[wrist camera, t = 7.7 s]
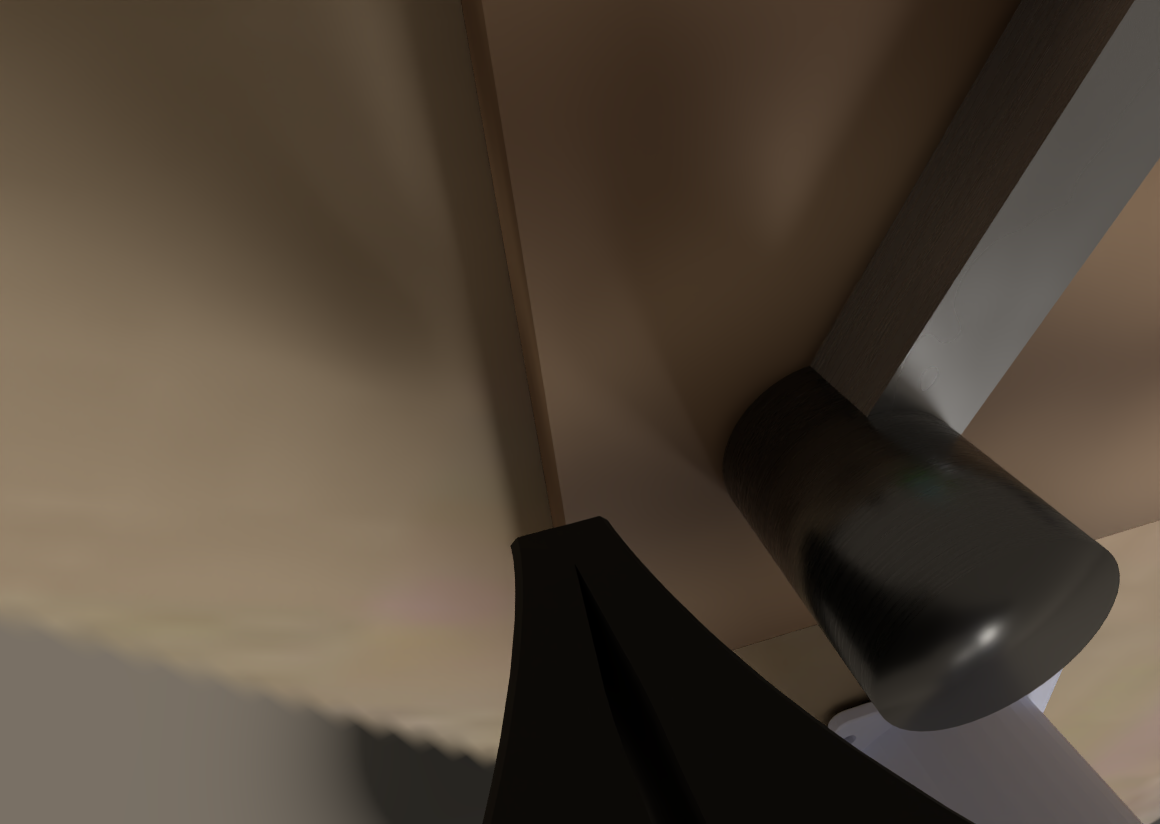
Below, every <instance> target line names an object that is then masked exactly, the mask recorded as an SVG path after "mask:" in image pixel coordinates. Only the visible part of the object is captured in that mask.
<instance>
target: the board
mask: <svg viewBox="0 0 1160 824" xmlns="http://www.w3.org/2000/svg"><path fill="white" fill-rule="evenodd" d="M1021 1H1022V0H461V4H462V9H463V15H464V21H465V27H466V32H467V38H468V44H469V49H470V55H471V61H472V66H473V72H474V78H475V84H476V89H477V95H478V101H479V106H480V112H481V118H482V123H483V129H484V135H485V141H486V146H487V152H488V158H489V163H490V169H491V175H492V181H493V186H494V192H495V198H496V203H497V209H498V215H499V220H500V226H501V232H502V238H503V243H504V249H505V255H506V260H507V266H508V272H509V277H510V283H511V289H512V295H513V300H514V306H515V312H516V317H517V323H518V329H519V334H520V340H521V346H522V352H523V357H524V363H525V369H526V374H527V380H528V386H529V392H530V397H531V403H532V409H533V414H534V420H535V426H536V431H537V437H538V443H539V449H540V454H541V460H542V466H543V471H544V477H545V483H546V488H547V494H548V500H549V506H550V511H551V517H552V523H553V528H555V527H559V526H563V525H567V524H571V523H574V522H578V521H582V520H586V519H589V518H593V517H597V516H601V517H603V518H605V519H607V520H608V521H609V522H610V524H611V525H612V527H613V528H614V529H615V531H616V532H617V533H618V534H619V536H620V537H621V538H622V539H623V541H624V542H625V543H626V544H627V545H628V547H629V548H630V549H631V550H632V551H633V553H634V554H635V555H636V556H637V557H638V558H639V559H640V561H641V562H642V563H643V564H644V565H645V566H646V567H647V568H648V569H649V570H650V572H651V573H652V574H653V575H654V576H655V577H656V578H657V579H658V580H659V581H660V582H661V583H662V584H663V585H664V587H665V588H666V589H667V590H668V591H669V592H670V593H671V594H672V595H673V596H674V597H675V598H676V599H677V600H678V601H679V602H680V603H681V604H682V605H683V606H684V607H685V608H687V609H688V610H689V611H690V612H691V613H692V614H693V615H694V616H695V617H696V618H697V619H698V620H699V621H700V622H701V623H702V624H703V625H704V626H705V627H706V628H707V629H708V630H709V631H710V632H711V633H713V634H714V635H715V636H716V637H717V638H718V639H719V640H720V641H721V642H722V643H724V644H725V645H726V646H727V647H728V648H729V649H730V650H734V649H738V648H741V647H744V646H748V645H751V644H754V643H758V642H761V641H764V640H767V639H771V638H774V637H777V636H781V635H784V634H787V633H790V632H794V631H797V630H800V629H804V628H807V627H810V626H813V625H817V622H816V621H815V619H814V618H813V616H812V615H811V613H810V612H809V611H808V609H807V608H806V606H805V605H804V603H803V602H802V600H801V599H800V598H799V596H798V595H797V593H796V592H795V590H794V589H793V587H792V586H791V585H790V583H789V582H788V580H787V579H786V577H785V576H784V574H783V573H782V572H781V570H780V569H779V567H778V566H777V564H776V563H775V561H774V560H773V559H772V557H771V556H770V554H769V553H768V551H767V550H766V548H765V547H764V546H763V544H762V543H761V541H760V540H759V538H758V537H757V535H756V534H755V533H754V531H753V530H752V528H751V527H750V525H749V524H748V522H747V521H746V520H745V518H744V517H743V515H742V514H741V512H740V511H739V509H738V508H737V507H736V505H735V504H734V502H733V501H732V499H731V498H730V496H729V494H728V492H727V490H726V488H725V484H724V481H723V472H722V467H723V457H724V452H725V448H726V446H727V443H728V440H729V437H730V435H731V433H732V431H733V429H734V427H735V426H736V424H737V422H738V421H739V419H740V418H741V416H742V415H743V414H744V412H745V411H746V410H747V409H748V407H749V406H750V405H751V404H752V403H753V402H754V401H755V400H756V399H757V398H758V397H759V396H760V395H761V394H762V393H763V392H765V391H766V390H767V389H768V388H769V387H771V386H772V385H774V384H775V383H776V382H778V381H779V380H781V379H782V378H784V377H786V376H788V375H789V374H791V373H793V372H795V371H798V370H800V369H802V368H804V367H807V366H810V365H811V363H812V361H813V359H814V358H815V356H816V354H817V352H818V351H819V349H820V347H821V346H822V344H823V342H824V340H825V339H826V337H827V335H828V333H829V332H830V330H831V328H832V327H833V325H834V323H835V321H836V320H837V318H838V316H839V315H840V313H841V311H842V309H843V308H844V306H845V304H846V302H847V301H848V299H849V297H850V296H851V294H852V292H853V290H854V289H855V287H856V285H857V284H858V282H859V280H860V278H861V277H862V275H863V273H864V271H865V270H866V268H867V266H868V265H869V263H870V261H871V259H872V258H873V256H874V254H875V252H876V251H877V249H878V247H879V246H880V244H881V242H882V240H883V239H884V237H885V235H886V234H887V232H888V230H889V228H890V227H891V225H892V223H893V221H894V220H895V218H896V216H897V215H898V213H899V211H900V209H901V208H902V206H903V204H904V203H905V201H906V199H907V197H908V196H909V194H910V192H911V190H912V189H913V187H914V185H915V184H916V182H917V180H918V178H919V177H920V175H921V173H922V171H923V170H924V168H925V166H926V165H927V163H928V161H929V159H930V158H931V156H932V154H933V153H934V151H935V149H936V147H937V146H938V144H939V142H940V140H941V139H942V137H943V135H944V134H945V132H946V130H947V128H948V127H949V125H950V123H951V121H952V120H953V118H954V116H955V115H956V113H957V111H958V109H959V108H960V106H961V104H962V103H963V101H964V99H965V97H966V96H967V94H968V92H969V90H970V89H971V87H972V85H973V84H974V82H975V80H976V78H977V77H978V75H979V73H980V72H981V70H982V68H983V66H984V65H985V63H986V61H987V59H988V58H989V56H990V54H991V53H992V51H993V49H994V47H995V46H996V44H997V42H998V40H999V39H1000V37H1001V35H1002V34H1003V32H1004V30H1005V28H1006V27H1007V25H1008V23H1009V22H1010V20H1011V18H1012V16H1013V15H1014V13H1015V11H1016V9H1017V8H1018V6H1019V4H1020V3H1021ZM961 435H962V436H963V437H964V438H965V439H967V440H968V441H969V442H971V443H972V444H973V445H974V446H976V447H977V448H978V449H979V450H981V451H982V452H983V453H985V454H986V455H987V456H988V457H990V458H991V459H992V460H993V461H995V462H996V463H997V464H998V465H1000V466H1001V467H1002V468H1004V469H1005V470H1006V471H1007V472H1009V473H1010V474H1011V475H1012V476H1014V477H1015V478H1016V479H1018V480H1019V481H1020V482H1021V483H1023V484H1024V485H1025V486H1026V487H1028V488H1029V489H1030V490H1032V491H1033V492H1034V493H1035V494H1037V495H1038V496H1039V497H1040V498H1042V499H1043V500H1044V501H1045V502H1047V503H1048V504H1049V505H1051V506H1052V507H1053V508H1054V509H1056V510H1057V511H1058V512H1059V513H1061V514H1062V515H1063V516H1065V517H1066V518H1067V519H1068V520H1070V521H1071V522H1072V523H1073V524H1075V525H1076V526H1077V527H1079V528H1080V529H1081V530H1082V531H1084V532H1085V533H1086V534H1087V535H1089V536H1090V537H1091V538H1093V539H1094V540H1096V539H1100V538H1103V537H1106V536H1110V535H1113V534H1116V533H1119V532H1123V531H1126V530H1129V529H1133V528H1136V527H1139V526H1143V525H1146V524H1149V523H1152V522H1156V521H1159V520H1160V158H1159V160H1158V161H1157V162H1156V164H1155V165H1154V167H1153V168H1152V169H1151V171H1150V172H1149V174H1148V175H1147V176H1146V178H1145V179H1144V180H1143V182H1142V183H1141V185H1140V186H1139V187H1138V189H1137V190H1136V192H1135V193H1134V194H1133V196H1132V197H1131V199H1130V200H1129V201H1128V203H1127V204H1126V206H1125V207H1124V208H1123V210H1122V211H1121V213H1120V214H1119V215H1118V217H1117V218H1116V219H1115V221H1114V222H1113V224H1112V225H1111V226H1110V228H1109V229H1108V231H1107V232H1106V233H1105V235H1104V236H1103V238H1102V239H1101V240H1100V242H1099V243H1098V245H1097V246H1096V247H1095V249H1094V250H1093V251H1092V253H1091V254H1090V256H1089V257H1088V258H1087V260H1086V261H1085V263H1084V264H1083V265H1082V267H1081V268H1080V270H1079V271H1078V272H1077V274H1076V275H1075V277H1074V278H1073V279H1072V281H1071V282H1070V284H1069V285H1068V286H1067V288H1066V289H1065V290H1064V292H1063V293H1062V295H1061V296H1060V297H1059V299H1058V300H1057V302H1056V303H1055V304H1054V306H1053V307H1052V309H1051V310H1050V311H1049V313H1048V314H1047V316H1046V317H1045V318H1044V320H1043V321H1042V323H1041V324H1040V325H1039V327H1038V328H1037V329H1036V331H1035V332H1034V334H1033V335H1032V336H1031V338H1030V339H1029V341H1028V342H1027V343H1026V345H1025V346H1024V348H1023V349H1022V350H1021V352H1020V353H1019V355H1018V356H1017V357H1016V359H1015V360H1014V362H1013V363H1012V364H1011V366H1010V367H1009V368H1008V370H1007V371H1006V373H1005V374H1004V375H1003V377H1002V378H1001V380H1000V381H999V382H998V384H997V385H996V387H995V388H994V389H993V391H992V392H991V394H990V395H989V396H988V398H987V399H986V401H985V402H984V403H983V405H982V406H981V407H980V409H979V410H978V412H977V413H976V414H975V416H974V417H973V419H972V420H971V421H970V423H969V424H968V426H967V427H966V428H965V430H964V431H963V433H962V434H961Z"/></svg>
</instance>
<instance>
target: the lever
mask: <svg viewBox="0 0 1160 824" xmlns="http://www.w3.org/2000/svg"><path fill="white" fill-rule="evenodd" d="M1159 158H1160V0H1022V1H1021V3H1020V4H1019V6H1018V8H1017V9H1016V11H1015V13H1014V15H1013V16H1012V18H1011V20H1010V22H1009V23H1008V25H1007V27H1006V28H1005V30H1004V32H1003V34H1002V35H1001V37H1000V39H999V40H998V42H997V44H996V46H995V47H994V49H993V51H992V53H991V54H990V56H989V58H988V59H987V61H986V63H985V65H984V66H983V68H982V70H981V72H980V73H979V75H978V77H977V78H976V80H975V82H974V84H973V85H972V87H971V89H970V90H969V92H968V94H967V96H966V97H965V99H964V101H963V103H962V104H961V106H960V108H959V109H958V111H957V113H956V115H955V116H954V118H953V120H952V121H951V123H950V125H949V127H948V128H947V130H946V132H945V134H944V135H943V137H942V139H941V140H940V142H939V144H938V146H937V147H936V149H935V151H934V153H933V154H932V156H931V158H930V159H929V161H928V163H927V165H926V166H925V168H924V170H923V171H922V173H921V175H920V177H919V178H918V180H917V182H916V184H915V185H914V187H913V189H912V190H911V192H910V194H909V196H908V197H907V199H906V201H905V203H904V204H903V206H902V208H901V209H900V211H899V213H898V215H897V216H896V218H895V220H894V221H893V223H892V225H891V227H890V228H889V230H888V232H887V234H886V235H885V237H884V239H883V240H882V242H881V244H880V246H879V247H878V249H877V251H876V252H875V254H874V256H873V258H872V259H871V261H870V263H869V265H868V266H867V268H866V270H865V271H864V273H863V275H862V277H861V278H860V280H859V282H858V284H857V285H856V287H855V289H854V290H853V292H852V294H851V296H850V297H849V299H848V301H847V302H846V304H845V306H844V308H843V309H842V311H841V313H840V315H839V316H838V318H837V320H836V321H835V323H834V325H833V327H832V328H831V330H830V332H829V333H828V335H827V337H826V339H825V340H824V342H823V344H822V346H821V347H820V349H819V351H818V352H817V354H816V356H815V358H814V359H813V361H812V363H811V365H810V366H807V367H804V368H802V369H800V370H798V371H795V372H793V373H791V374H789V375H788V376H786V377H784V378H782V379H781V380H779V381H778V382H776V383H775V384H774V385H772V386H771V387H769V388H768V389H767V390H766V391H765V392H763V393H762V394H761V395H760V396H759V397H758V398H757V399H756V400H755V401H754V402H753V403H752V404H751V405H750V406H749V407H748V409H747V410H746V411H745V412H744V414H743V415H742V416H741V418H740V419H739V421H738V422H737V424H736V426H735V427H734V429H733V431H732V433H731V435H730V437H729V440H728V443H727V446H726V448H725V452H724V457H723V467H722V472H723V481H724V484H725V488H726V490H727V492H728V494H729V496H730V498H731V499H732V501H733V502H734V504H735V505H736V507H737V508H738V509H739V511H740V512H741V514H742V515H743V517H744V518H745V520H746V521H747V522H748V524H749V525H750V527H751V528H752V530H753V531H754V533H755V534H756V535H757V537H758V538H759V540H760V541H761V543H762V544H763V546H764V547H765V548H766V550H767V551H768V553H769V554H770V556H771V557H772V559H773V560H774V561H775V563H776V564H777V566H778V567H779V569H780V570H781V572H782V573H783V574H784V576H785V577H786V579H787V580H788V582H789V583H790V585H791V586H792V587H793V589H794V590H795V592H796V593H797V595H798V596H799V598H800V599H801V600H802V602H803V603H804V605H805V606H806V608H807V609H808V611H809V612H810V613H811V615H812V616H813V618H814V619H815V621H816V622H817V624H818V625H819V626H820V628H821V629H822V631H823V632H824V634H825V635H826V637H827V638H828V639H829V641H830V642H831V644H832V645H833V647H834V648H835V650H836V651H837V652H838V654H839V655H840V657H841V658H842V660H843V661H844V663H845V664H846V665H847V667H848V668H849V670H850V671H851V673H852V674H853V676H854V677H855V678H856V680H857V681H858V683H859V684H860V686H861V687H862V689H863V690H864V691H865V693H866V694H867V696H868V697H869V699H870V700H871V702H872V703H873V704H874V706H875V707H876V709H877V710H878V712H879V713H880V714H881V716H882V717H883V718H884V719H885V720H886V721H887V722H889V723H890V724H891V725H893V726H896V727H898V728H900V729H905V730H909V731H920V732H923V731H937V730H943V729H948V728H953V727H957V726H961V725H964V724H967V723H970V722H973V721H976V720H978V719H981V718H983V717H986V716H988V715H991V714H993V713H995V712H997V711H999V710H1001V709H1003V708H1005V707H1007V706H1009V705H1011V704H1012V703H1014V702H1016V701H1018V700H1019V699H1021V698H1023V697H1024V696H1026V695H1028V694H1029V693H1031V692H1032V691H1034V690H1035V689H1037V688H1038V687H1040V686H1041V685H1042V684H1044V683H1045V682H1046V681H1048V680H1049V679H1050V678H1052V677H1053V676H1054V675H1055V674H1057V673H1058V672H1059V671H1060V670H1061V669H1062V668H1064V667H1065V666H1066V665H1067V664H1068V663H1069V662H1070V661H1071V660H1072V659H1073V658H1074V657H1075V656H1076V655H1077V654H1078V653H1080V652H1081V650H1082V649H1083V648H1084V647H1085V646H1086V645H1087V644H1088V643H1089V641H1090V640H1091V639H1092V638H1093V636H1094V635H1095V634H1096V633H1097V631H1098V630H1099V629H1100V627H1101V626H1102V624H1103V622H1104V621H1105V619H1106V618H1107V616H1108V614H1109V612H1110V610H1111V608H1112V606H1113V604H1114V601H1115V599H1116V596H1117V593H1118V588H1119V580H1120V573H1119V568H1118V564H1117V562H1116V560H1115V558H1114V557H1113V555H1112V554H1111V553H1110V552H1109V551H1108V550H1106V549H1105V548H1104V547H1103V546H1101V545H1100V544H1099V543H1098V542H1096V541H1095V540H1094V539H1093V538H1091V537H1090V536H1089V535H1087V534H1086V533H1085V532H1084V531H1082V530H1081V529H1080V528H1079V527H1077V526H1076V525H1075V524H1073V523H1072V522H1071V521H1070V520H1068V519H1067V518H1066V517H1065V516H1063V515H1062V514H1061V513H1059V512H1058V511H1057V510H1056V509H1054V508H1053V507H1052V506H1051V505H1049V504H1048V503H1047V502H1045V501H1044V500H1043V499H1042V498H1040V497H1039V496H1038V495H1037V494H1035V493H1034V492H1033V491H1032V490H1030V489H1029V488H1028V487H1026V486H1025V485H1024V484H1023V483H1021V482H1020V481H1019V480H1018V479H1016V478H1015V477H1014V476H1012V475H1011V474H1010V473H1009V472H1007V471H1006V470H1005V469H1004V468H1002V467H1001V466H1000V465H998V464H997V463H996V462H995V461H993V460H992V459H991V458H990V457H988V456H987V455H986V454H985V453H983V452H982V451H981V450H979V449H978V448H977V447H976V446H974V445H973V444H972V443H971V442H969V441H968V440H967V439H965V438H964V437H963V436H962V435H961V434H962V433H963V431H964V430H965V428H966V427H967V426H968V424H969V423H970V421H971V420H972V419H973V417H974V416H975V414H976V413H977V412H978V410H979V409H980V407H981V406H982V405H983V403H984V402H985V401H986V399H987V398H988V396H989V395H990V394H991V392H992V391H993V389H994V388H995V387H996V385H997V384H998V382H999V381H1000V380H1001V378H1002V377H1003V375H1004V374H1005V373H1006V371H1007V370H1008V368H1009V367H1010V366H1011V364H1012V363H1013V362H1014V360H1015V359H1016V357H1017V356H1018V355H1019V353H1020V352H1021V350H1022V349H1023V348H1024V346H1025V345H1026V343H1027V342H1028V341H1029V339H1030V338H1031V336H1032V335H1033V334H1034V332H1035V331H1036V329H1037V328H1038V327H1039V325H1040V324H1041V323H1042V321H1043V320H1044V318H1045V317H1046V316H1047V314H1048V313H1049V311H1050V310H1051V309H1052V307H1053V306H1054V304H1055V303H1056V302H1057V300H1058V299H1059V297H1060V296H1061V295H1062V293H1063V292H1064V290H1065V289H1066V288H1067V286H1068V285H1069V284H1070V282H1071V281H1072V279H1073V278H1074V277H1075V275H1076V274H1077V272H1078V271H1079V270H1080V268H1081V267H1082V265H1083V264H1084V263H1085V261H1086V260H1087V258H1088V257H1089V256H1090V254H1091V253H1092V251H1093V250H1094V249H1095V247H1096V246H1097V245H1098V243H1099V242H1100V240H1101V239H1102V238H1103V236H1104V235H1105V233H1106V232H1107V231H1108V229H1109V228H1110V226H1111V225H1112V224H1113V222H1114V221H1115V219H1116V218H1117V217H1118V215H1119V214H1120V213H1121V211H1122V210H1123V208H1124V207H1125V206H1126V204H1127V203H1128V201H1129V200H1130V199H1131V197H1132V196H1133V194H1134V193H1135V192H1136V190H1137V189H1138V187H1139V186H1140V185H1141V183H1142V182H1143V180H1144V179H1145V178H1146V176H1147V175H1148V174H1149V172H1150V171H1151V169H1152V168H1153V167H1154V165H1155V164H1156V162H1157V161H1158V160H1159Z"/></svg>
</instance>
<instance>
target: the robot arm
mask: <svg viewBox="0 0 1160 824" xmlns="http://www.w3.org/2000/svg"><path fill="white" fill-rule="evenodd" d="M511 549H512V554H513V560H514V570H515V623H514V635H513V647H512V659H511V670H510V678H509V685H508V692H507V699H506V705H505V712H504V718H503V725H502V732H501V738H500V743H499V748H498V754H497V759H496V764H495V769H494V774H493V779H492V784H491V788H490V793H489V797H488V802H487V806H486V811H485V815H484V819H483V824H1143V823H1142V822H1141V821H1140V820H1139V819H1138V818H1137V816H1136V815H1135V814H1134V813H1133V812H1132V811H1131V810H1130V809H1129V808H1128V807H1127V805H1126V804H1125V803H1124V802H1123V801H1122V800H1121V799H1120V798H1119V797H1118V796H1117V794H1116V793H1115V792H1114V791H1113V790H1112V789H1111V788H1110V787H1109V786H1108V785H1107V783H1106V782H1105V781H1104V780H1103V779H1102V778H1101V777H1100V776H1099V775H1098V774H1097V772H1096V771H1095V770H1094V769H1093V768H1092V767H1091V766H1090V765H1089V764H1088V763H1087V761H1086V760H1085V759H1084V758H1083V757H1082V756H1081V755H1080V754H1079V753H1078V752H1077V750H1076V749H1075V748H1074V747H1073V746H1072V745H1071V744H1070V743H1069V742H1068V741H1067V739H1066V738H1065V737H1064V736H1063V735H1062V734H1061V733H1060V732H1059V731H1058V730H1057V728H1056V727H1055V726H1054V725H1053V724H1052V723H1051V722H1050V721H1049V720H1048V719H1047V717H1046V716H1045V715H1044V714H1043V712H1044V710H1045V707H1046V705H1047V703H1048V701H1049V698H1050V696H1051V694H1052V692H1053V689H1054V687H1055V685H1056V683H1057V680H1058V678H1059V676H1060V674H1061V671H1062V669H1063V668H1062V669H1061V670H1060V671H1059V672H1058V673H1057V674H1055V675H1054V676H1053V677H1052V678H1050V679H1049V680H1048V681H1046V682H1045V683H1044V684H1042V685H1041V686H1040V687H1038V688H1037V689H1035V690H1034V691H1032V692H1031V693H1029V694H1028V695H1026V696H1024V697H1023V698H1021V699H1019V700H1018V701H1016V702H1014V703H1012V704H1011V705H1009V706H1007V707H1005V708H1003V709H1001V710H999V711H997V712H995V713H993V714H991V715H988V716H986V717H983V718H981V719H978V720H976V721H973V722H970V723H967V724H964V725H961V726H957V727H953V728H948V729H943V730H937V731H923V732H920V731H909V730H905V729H900V728H898V727H896V726H893V725H891V724H890V723H889V722H887V721H886V720H885V719H884V718H883V717H882V716H881V714H880V713H879V712H878V710H877V709H876V707H875V706H874V704H873V703H872V702H869V703H866V704H863V705H859V706H856V707H853V708H850V709H847V710H844V711H842V712H840V713H838V714H836V715H835V716H833V718H832V719H831V720H830V722H829V724H828V727H827V726H825V725H824V724H822V723H821V722H820V721H818V720H817V719H815V718H814V717H813V716H812V715H810V714H809V713H808V712H806V711H805V710H804V709H802V708H801V707H800V706H798V705H797V704H796V703H795V702H793V701H792V700H791V699H789V698H788V697H787V696H785V695H784V694H783V693H782V692H780V691H779V690H778V689H777V688H775V687H774V686H773V685H772V684H770V683H769V682H768V681H767V680H765V679H764V678H763V677H762V676H761V675H759V674H758V673H757V672H756V671H755V670H753V669H752V668H751V667H750V666H749V665H748V664H746V663H745V662H744V661H743V660H742V659H741V658H740V657H738V656H737V655H736V654H735V653H734V652H733V651H732V650H730V649H729V648H728V647H727V646H726V645H725V644H724V643H722V642H721V641H720V640H719V639H718V638H717V637H716V636H715V635H714V634H713V633H711V632H710V631H709V630H708V629H707V628H706V627H705V626H704V625H703V624H702V623H701V622H700V621H699V620H698V619H697V618H696V617H695V616H694V615H693V614H692V613H691V612H690V611H689V610H688V609H687V608H685V607H684V606H683V605H682V604H681V603H680V602H679V601H678V600H677V599H676V598H675V597H674V596H673V595H672V594H671V593H670V592H669V591H668V590H667V589H666V588H665V587H664V585H663V584H662V583H661V582H660V581H659V580H658V579H657V578H656V577H655V576H654V575H653V574H652V573H651V572H650V570H649V569H648V568H647V567H646V566H645V565H644V564H643V563H642V562H641V561H640V559H639V558H638V557H637V556H636V555H635V554H634V553H633V551H632V550H631V549H630V548H629V547H628V545H627V544H626V543H625V542H624V541H623V539H622V538H621V537H620V536H619V534H618V533H617V532H616V531H615V529H614V528H613V527H612V525H611V524H610V522H609V521H608V520H607V519H605V518H603V517H601V516H597V517H593V518H589V519H586V520H582V521H578V522H574V523H571V524H567V525H563V526H559V527H555V528H552V529H548V530H544V531H540V532H537V533H533V534H529V535H525V536H522V537H518V538H517V539H516V540H515V541H514V542H513V543H512V545H511Z"/></svg>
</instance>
